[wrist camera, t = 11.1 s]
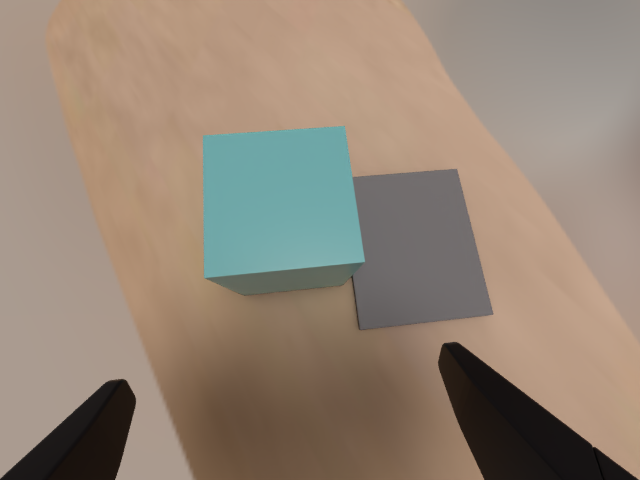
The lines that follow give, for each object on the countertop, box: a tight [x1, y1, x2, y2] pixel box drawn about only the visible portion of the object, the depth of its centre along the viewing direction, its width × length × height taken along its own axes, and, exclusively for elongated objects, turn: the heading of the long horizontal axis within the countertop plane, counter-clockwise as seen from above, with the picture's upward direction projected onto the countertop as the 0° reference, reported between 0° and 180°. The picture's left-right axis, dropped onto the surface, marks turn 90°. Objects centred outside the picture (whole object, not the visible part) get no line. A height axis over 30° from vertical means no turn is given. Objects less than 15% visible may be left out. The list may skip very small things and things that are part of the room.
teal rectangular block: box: [203, 126, 365, 295], centre depth 19 cm, size 7×7×9 cm
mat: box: [352, 169, 493, 330], centre depth 24 cm, size 12×10×1 cm
